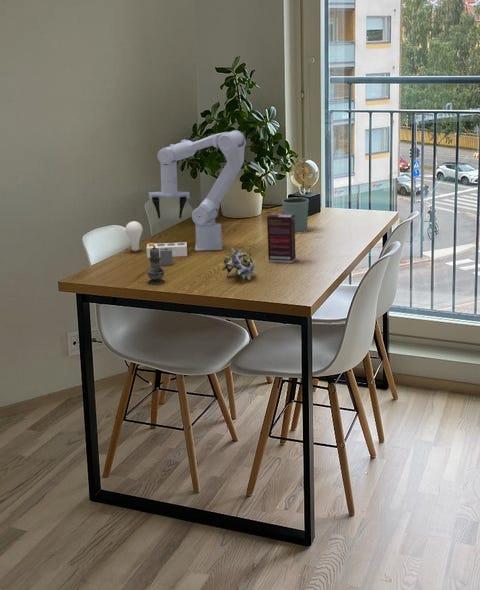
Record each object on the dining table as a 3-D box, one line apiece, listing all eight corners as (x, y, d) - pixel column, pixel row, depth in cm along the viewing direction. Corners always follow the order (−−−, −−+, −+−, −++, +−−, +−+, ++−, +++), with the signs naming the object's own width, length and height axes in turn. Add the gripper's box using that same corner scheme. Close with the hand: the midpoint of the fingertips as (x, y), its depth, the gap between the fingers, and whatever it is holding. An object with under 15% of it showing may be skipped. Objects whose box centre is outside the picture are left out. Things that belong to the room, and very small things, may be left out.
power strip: (187, 251, 319) (186, 240, 317) (187, 256, 313) (186, 244, 312) (147, 253, 318) (147, 241, 317) (147, 257, 312) (146, 246, 311)
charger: (172, 260, 308) (171, 245, 306) (172, 264, 302) (171, 249, 301) (161, 261, 307) (160, 246, 306) (160, 265, 302) (159, 250, 301)
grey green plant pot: (313, 229, 346) (313, 198, 342) (301, 234, 338) (300, 203, 334) (290, 226, 351) (290, 196, 348) (277, 232, 343) (277, 201, 340)
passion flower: (248, 296, 285) (244, 273, 275) (217, 287, 288) (212, 264, 278) (261, 269, 290) (258, 246, 281) (231, 261, 294) (227, 237, 284)
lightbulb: (141, 253, 318) (139, 223, 315) (124, 253, 319) (122, 223, 316) (146, 249, 324) (144, 219, 320) (130, 249, 325) (127, 219, 322)
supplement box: (296, 259, 304) (295, 214, 299) (292, 263, 300) (291, 217, 295) (271, 258, 307) (270, 213, 302) (267, 262, 302) (266, 216, 298)
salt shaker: (147, 279, 286) (144, 243, 283) (165, 278, 287) (163, 242, 283) (146, 285, 281) (144, 248, 277) (165, 284, 281) (163, 247, 278)
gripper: (148, 182, 317) (149, 220, 321) (189, 182, 317) (189, 219, 322) (148, 179, 323) (150, 215, 328) (189, 178, 324) (189, 215, 328)
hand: (169, 217), depth 325 cm, fingers open, 7 cm apart
